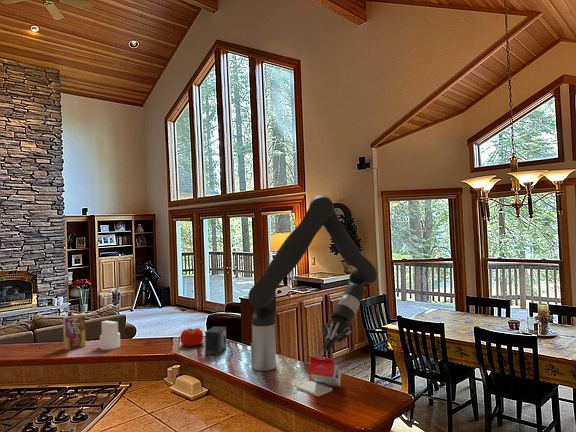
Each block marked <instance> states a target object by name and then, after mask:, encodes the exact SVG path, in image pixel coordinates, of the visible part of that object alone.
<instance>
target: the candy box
mask: <svg viewBox="0 0 576 432" xmlns="http://www.w3.org/2000/svg"><path fill="white" fill-rule="evenodd" d="M85 321H86V320H85V314H83V313H80V314H75V315H74V314H73V315H69V316H68V315H67V316H63V317H62V322H63V323H62V326H63V327H62V329H63V331H62V334H63V349H64V350H66V351H67V350H73V349H78V348H82V347H85V346H86V324H85V323H86V322H85Z"/></svg>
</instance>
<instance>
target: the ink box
mask: <svg viewBox="0 0 576 432" xmlns="http://www.w3.org/2000/svg"><path fill="white" fill-rule="evenodd" d="M308 358H309V359H310V360H309V366H308V367H309V368H308V372H307V373H308V374H309V375H310V376H311V378H312V379H313V380H314V382H315V383H318V384H321V385H324V386H327V385H328V386H335V387H341V380H342V372H341V370H340V368H339V366H338V365H337V364H336V361H334V360H333V359H332V358H331V357H321V356H310V355H309V356H308Z"/></svg>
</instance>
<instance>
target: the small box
mask: <svg viewBox="0 0 576 432" xmlns="http://www.w3.org/2000/svg"><path fill="white" fill-rule="evenodd" d="M204 335H205V336H204V337H205V339H204V340H205V342H204V343H205V348H204V351H205V352H204V353H205V355H204V356H217V357H218V356H219V355H221V354H222V353H223V352H225V351H226V350H227V326H216V325H215V326H211V328H208V330H206V331H204Z"/></svg>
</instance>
